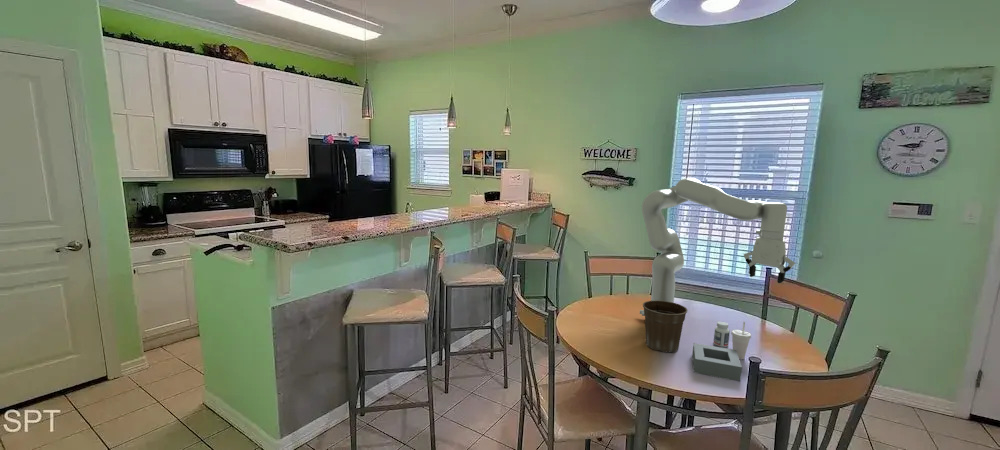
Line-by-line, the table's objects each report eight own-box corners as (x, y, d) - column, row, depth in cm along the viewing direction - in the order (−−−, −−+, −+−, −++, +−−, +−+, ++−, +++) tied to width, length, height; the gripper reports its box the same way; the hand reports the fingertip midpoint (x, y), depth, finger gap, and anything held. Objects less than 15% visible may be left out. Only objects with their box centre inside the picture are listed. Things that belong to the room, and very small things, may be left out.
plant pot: (630, 340, 168) (633, 302, 166) (661, 335, 175) (664, 298, 172) (660, 358, 154) (664, 316, 151) (693, 351, 160) (697, 311, 158)
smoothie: (751, 362, 152) (755, 325, 150) (732, 360, 154) (736, 324, 151) (744, 354, 158) (748, 319, 156) (726, 352, 160) (730, 317, 158)
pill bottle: (726, 342, 169) (729, 322, 167) (729, 348, 164) (731, 326, 162) (712, 340, 170) (714, 320, 169) (714, 346, 165) (716, 324, 164)
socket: (694, 372, 144) (695, 358, 143) (692, 355, 156) (693, 343, 156) (740, 381, 138) (742, 367, 138) (734, 363, 151) (736, 350, 150)
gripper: (742, 232, 161) (737, 275, 164) (794, 240, 148) (787, 286, 150) (751, 231, 166) (746, 272, 168) (802, 238, 152) (795, 283, 155)
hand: (765, 279), depth 159 cm, fingers open, 9 cm apart
